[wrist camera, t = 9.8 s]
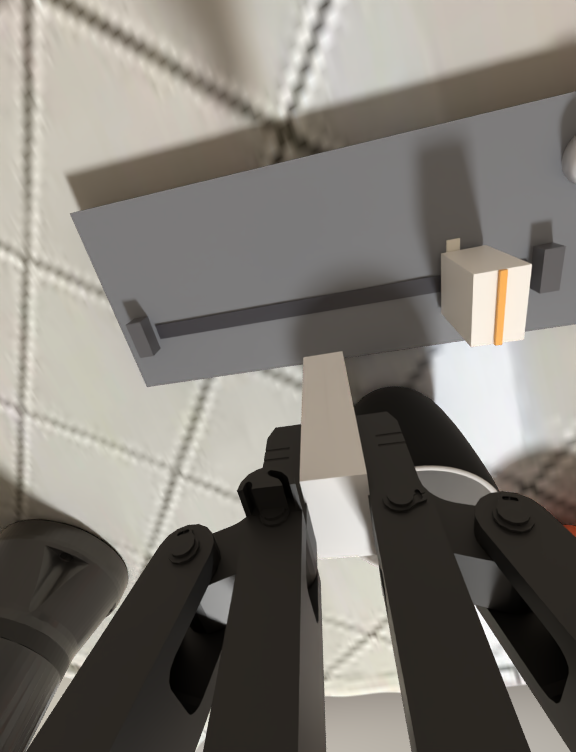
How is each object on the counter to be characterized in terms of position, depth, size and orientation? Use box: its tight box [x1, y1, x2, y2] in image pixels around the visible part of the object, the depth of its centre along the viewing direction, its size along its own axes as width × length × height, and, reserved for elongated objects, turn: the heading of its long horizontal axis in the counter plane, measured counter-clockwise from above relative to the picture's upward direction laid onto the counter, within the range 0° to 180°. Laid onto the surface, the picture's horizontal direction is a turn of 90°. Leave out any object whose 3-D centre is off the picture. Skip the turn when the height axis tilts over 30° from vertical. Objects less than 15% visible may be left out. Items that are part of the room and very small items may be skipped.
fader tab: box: [441, 245, 532, 347], centre depth 19 cm, size 2×4×5 cm, turn 12°
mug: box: [354, 387, 499, 568], centre depth 25 cm, size 12×9×10 cm
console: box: [70, 91, 576, 387], centre depth 22 cm, size 31×12×4 cm, turn 102°
